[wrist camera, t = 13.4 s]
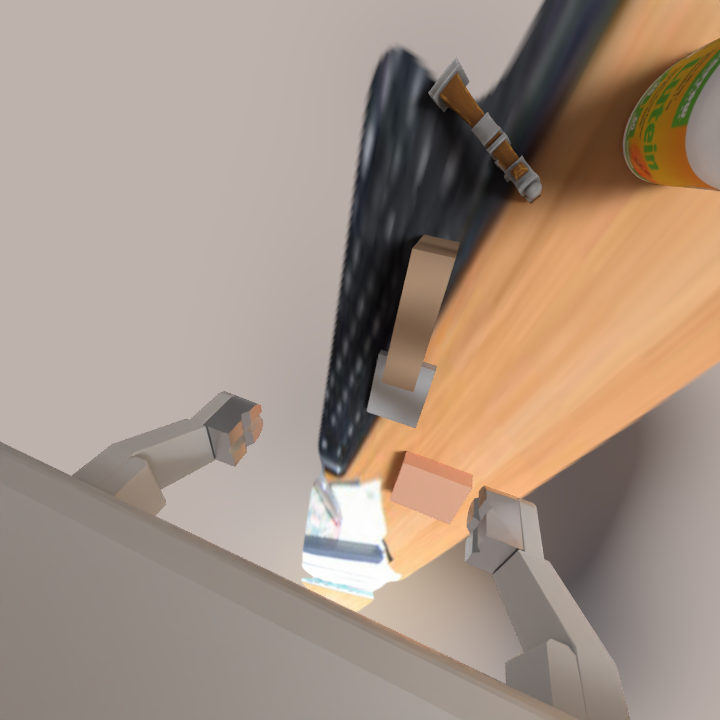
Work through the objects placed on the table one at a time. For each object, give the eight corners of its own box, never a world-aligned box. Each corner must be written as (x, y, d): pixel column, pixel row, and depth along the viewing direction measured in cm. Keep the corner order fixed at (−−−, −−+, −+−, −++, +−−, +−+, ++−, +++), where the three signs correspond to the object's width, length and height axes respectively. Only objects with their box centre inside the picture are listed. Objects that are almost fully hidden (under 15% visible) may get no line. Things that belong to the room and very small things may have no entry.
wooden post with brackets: (529, 223, 18) (517, 206, 15) (454, 127, 20) (426, 90, 16) (560, 198, 17) (555, 173, 14) (478, 100, 19) (454, 53, 15)
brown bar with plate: (406, 230, 21) (391, 243, 18) (478, 246, 20) (478, 263, 17) (369, 406, 31) (354, 437, 27) (416, 422, 30) (408, 457, 27)
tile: (403, 462, 31) (389, 500, 35) (472, 488, 30) (449, 524, 34) (407, 447, 33) (393, 485, 37) (472, 471, 32) (451, 507, 36)
